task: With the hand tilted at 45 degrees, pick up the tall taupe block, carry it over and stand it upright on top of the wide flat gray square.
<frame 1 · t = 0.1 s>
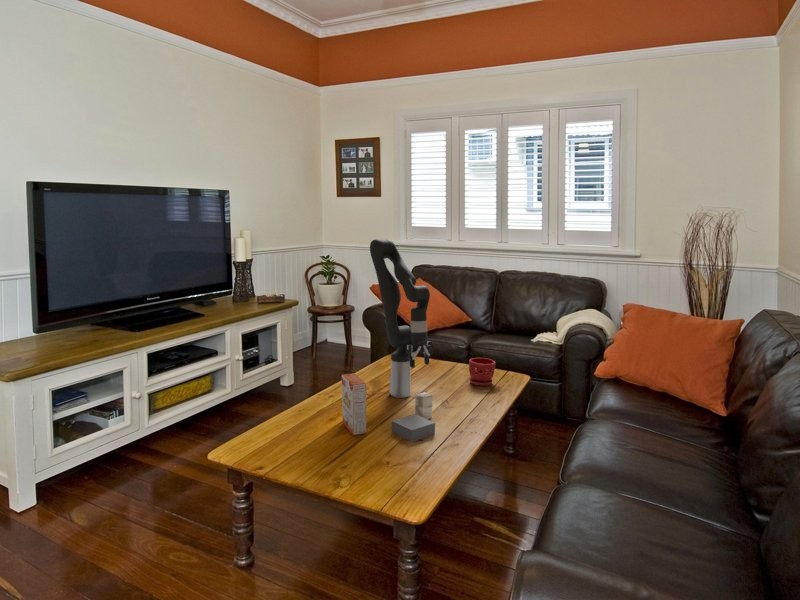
hand: (419, 365, 245), 17 cm above the table, tool pointing down, fingers open, 8 cm apart
cracker box: (353, 428, 219), on the table
plant pot: (481, 383, 277), on the table
flat gray square: (413, 433, 215), on the table
taupe block: (423, 417, 231), on the table
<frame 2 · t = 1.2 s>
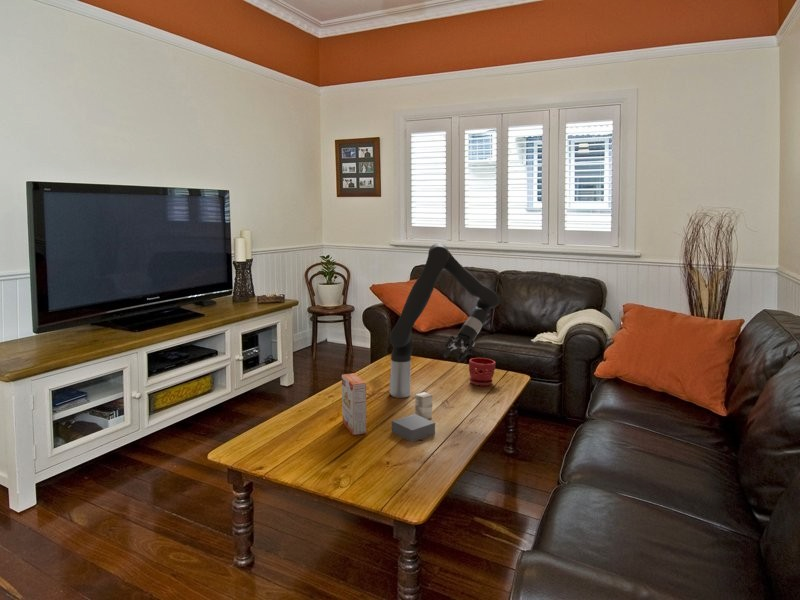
hand: (451, 358, 237), 23 cm above the table, tool tilted 45°, fingers open, 8 cm apart
nothing on the table moved.
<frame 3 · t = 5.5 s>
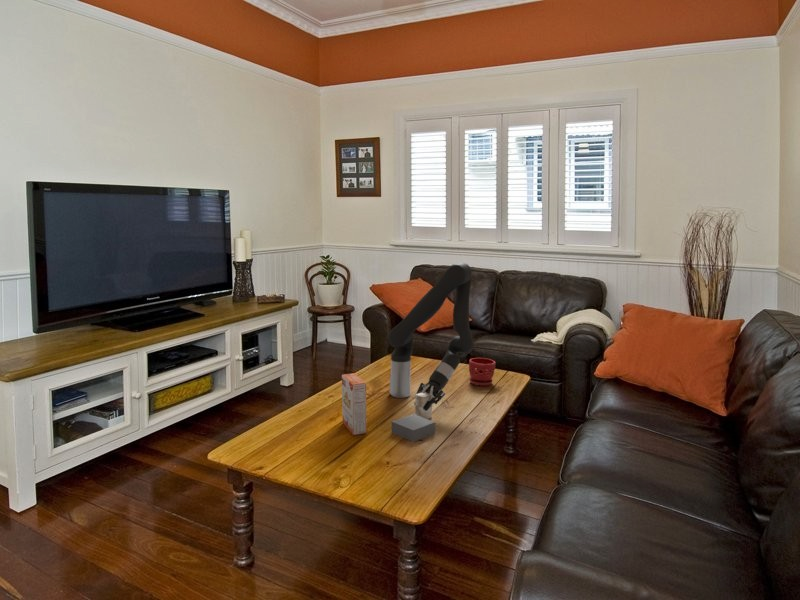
hand: (420, 407, 229), 5 cm above the table, tool tilted 45°, fingers closed on taupe block, 5 cm apart
taupe block: (423, 417, 231), on the table, touching gripper
everything else where it was.
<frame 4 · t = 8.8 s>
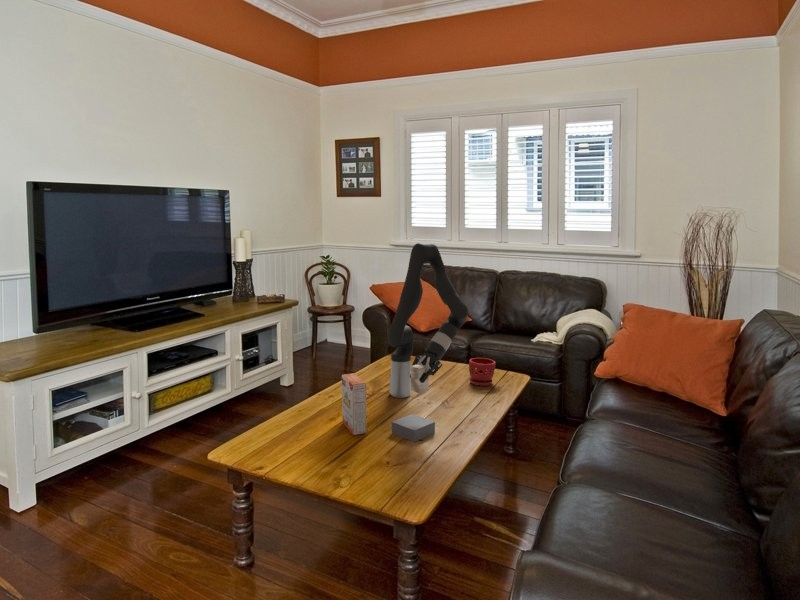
hand: (416, 380, 215), 20 cm above the table, tool tilted 45°, fingers closed on taupe block, 5 cm apart
taupe block: (419, 390, 217), point 16 cm above the table, touching gripper
everything else where it was.
when the fingers open (11 cm above the table, at t = 11.8 s): taupe block drops 2 cm, resting on flat gray square.
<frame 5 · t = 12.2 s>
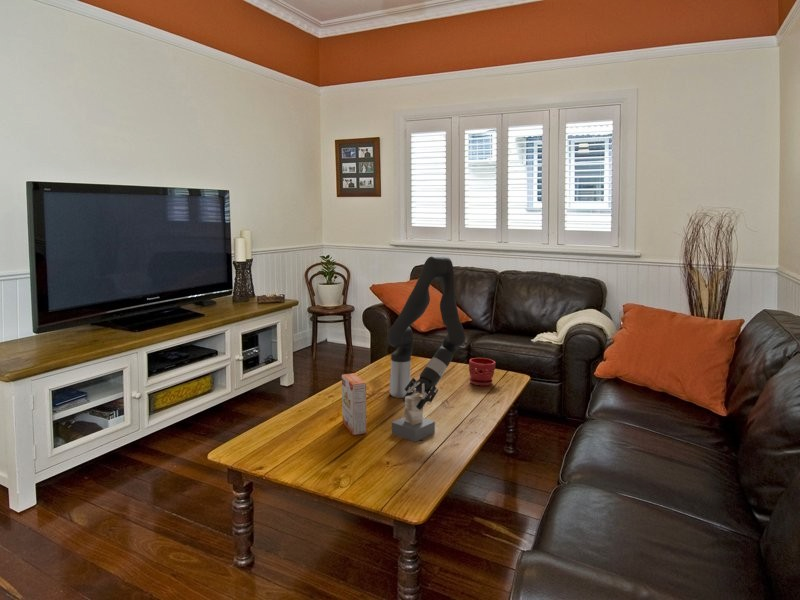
hand: (411, 405, 212), 12 cm above the table, tool tilted 45°, fingers open, 8 cm apart
flat gray square: (413, 433, 215), on the table, touching taupe block
taupe block: (413, 421, 214), point 5 cm above the table, touching flat gray square
everything else where it was.
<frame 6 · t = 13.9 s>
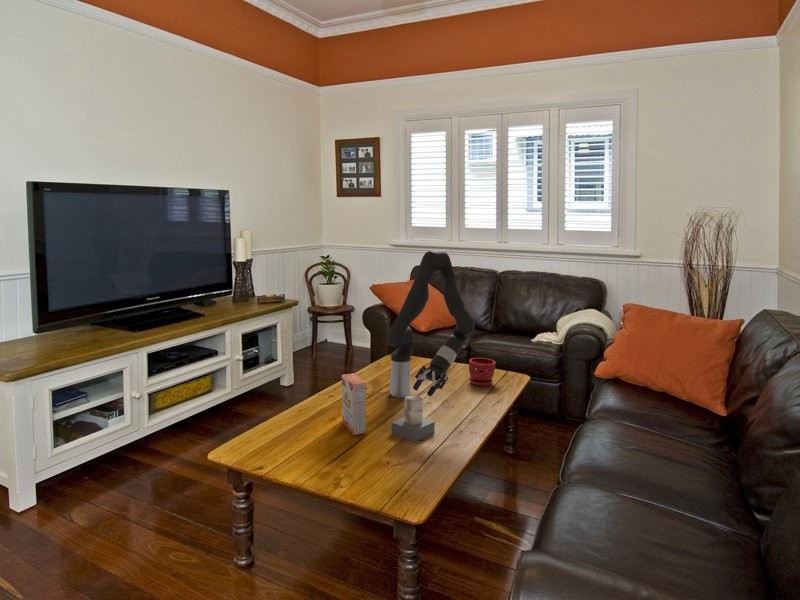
hand: (421, 392, 215), 16 cm above the table, tool tilted 45°, fingers open, 8 cm apart
flat gray square: (412, 434, 215), on the table
taupe block: (413, 422, 214), point 5 cm above the table
everything else where it was.
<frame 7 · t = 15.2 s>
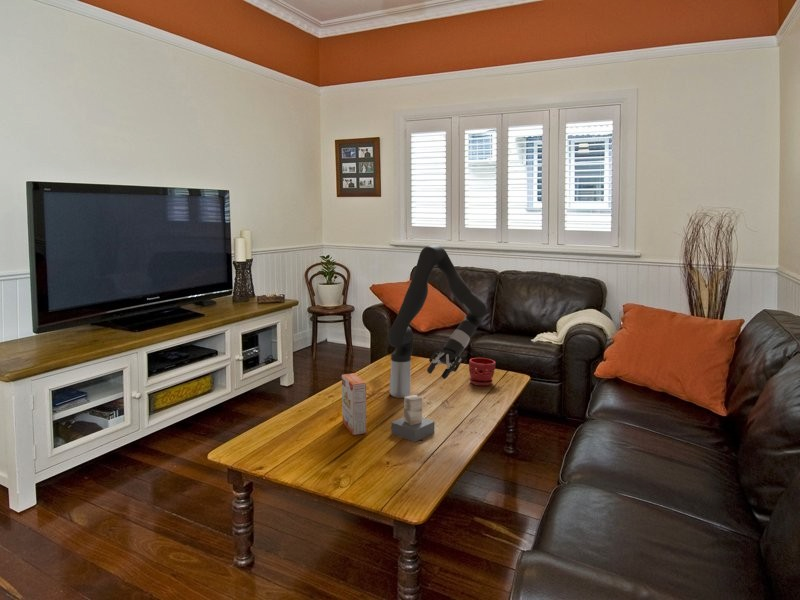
hand: (435, 375, 218), 21 cm above the table, tool tilted 45°, fingers open, 8 cm apart
flat gray square: (412, 433, 215), on the table, touching taupe block
taupe block: (412, 421, 214), point 5 cm above the table, touching flat gray square
everything else where it was.
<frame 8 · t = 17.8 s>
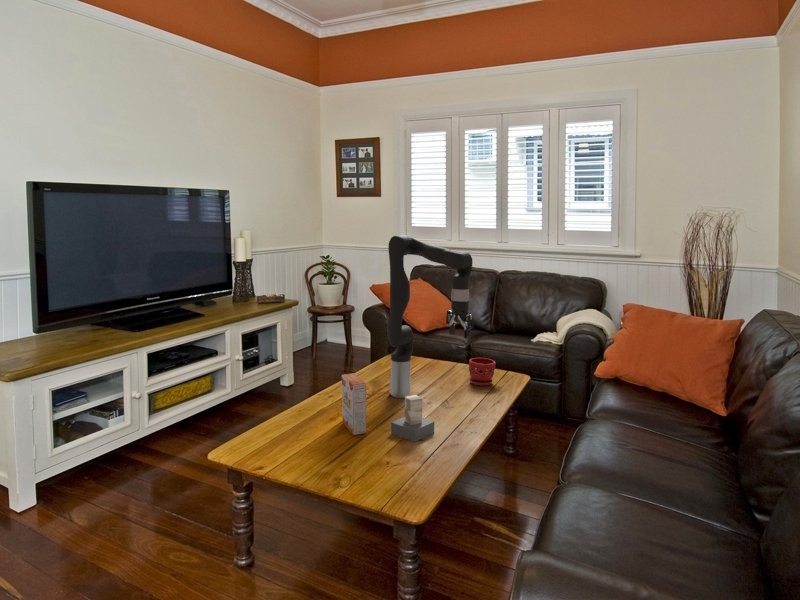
hand: (459, 336, 235), 33 cm above the table, tool pointing down, fingers open, 8 cm apart
flat gray square: (412, 434, 215), on the table
taupe block: (413, 422, 214), point 5 cm above the table
everything else where it was.
at the end: taupe block inside the target area on the flat gray square (0.1 cm from its centre), point 5.0 cm above the flat gray square's base; taupe block tilted 0°; the gripper is holding nothing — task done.
